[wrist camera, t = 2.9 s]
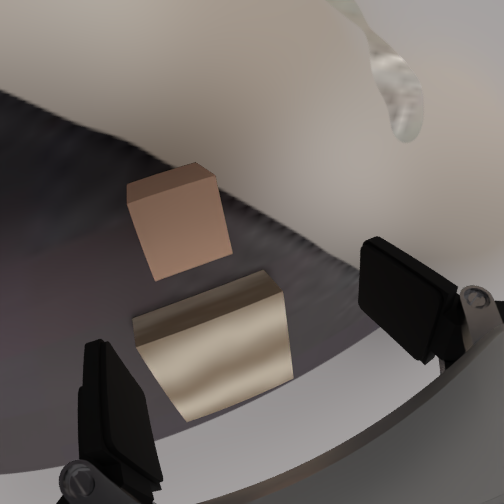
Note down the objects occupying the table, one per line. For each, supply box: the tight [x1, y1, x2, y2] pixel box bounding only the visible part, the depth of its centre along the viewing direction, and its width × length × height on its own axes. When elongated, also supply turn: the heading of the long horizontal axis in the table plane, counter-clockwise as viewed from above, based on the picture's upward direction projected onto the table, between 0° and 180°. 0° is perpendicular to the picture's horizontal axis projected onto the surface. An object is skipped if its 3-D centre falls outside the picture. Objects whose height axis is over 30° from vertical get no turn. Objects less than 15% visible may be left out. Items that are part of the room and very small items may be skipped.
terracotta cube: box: [127, 162, 233, 281], centre depth 19 cm, size 5×5×5 cm
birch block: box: [132, 270, 293, 422], centre depth 26 cm, size 12×12×4 cm
